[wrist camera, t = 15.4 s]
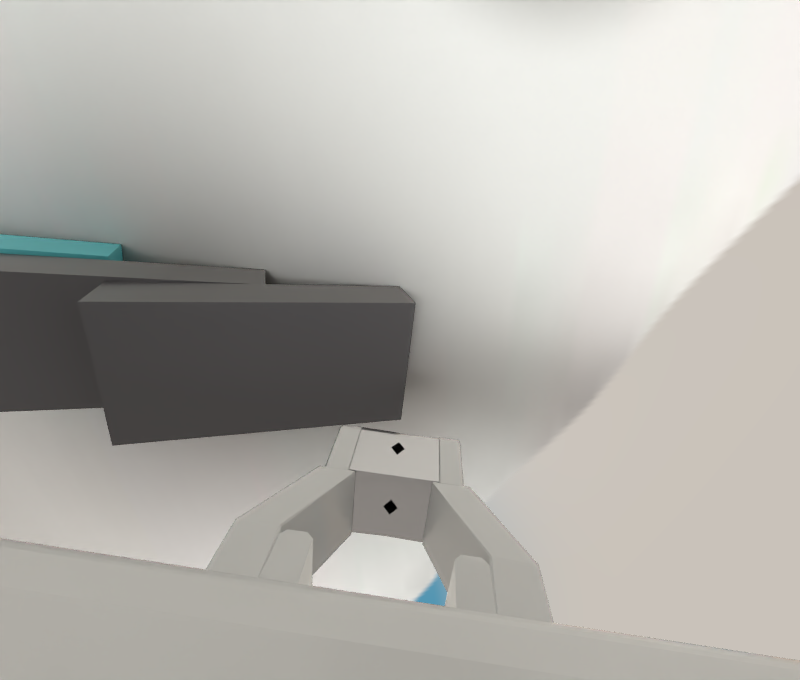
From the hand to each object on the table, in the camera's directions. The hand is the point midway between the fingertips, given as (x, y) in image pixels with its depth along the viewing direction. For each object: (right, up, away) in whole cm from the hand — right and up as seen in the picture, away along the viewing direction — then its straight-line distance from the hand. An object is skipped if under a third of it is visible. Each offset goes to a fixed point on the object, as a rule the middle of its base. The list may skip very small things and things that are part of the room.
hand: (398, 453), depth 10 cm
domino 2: (0, +2, +6) cm, 6 cm away
